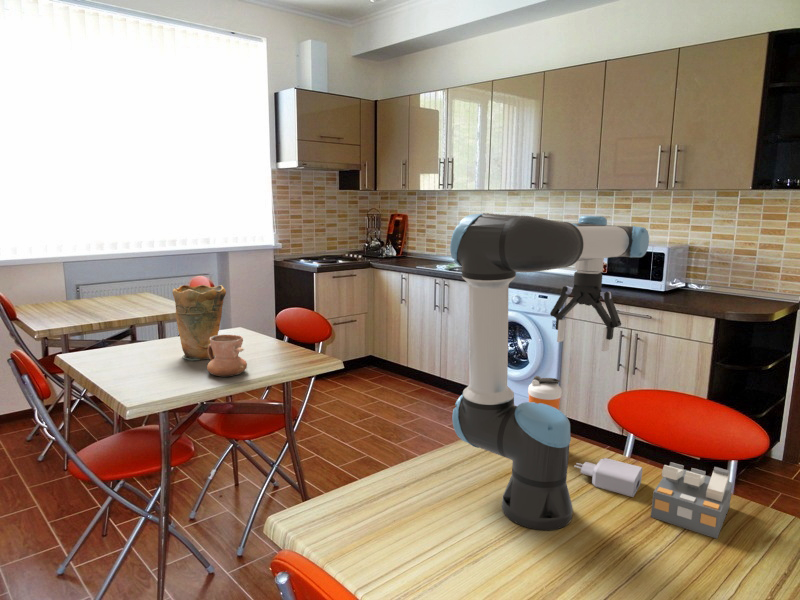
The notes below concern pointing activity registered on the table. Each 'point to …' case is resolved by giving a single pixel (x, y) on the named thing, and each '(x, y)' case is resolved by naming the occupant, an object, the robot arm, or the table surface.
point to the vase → (198, 317)
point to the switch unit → (690, 505)
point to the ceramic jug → (226, 355)
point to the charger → (613, 475)
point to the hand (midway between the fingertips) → (582, 345)
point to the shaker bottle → (545, 391)
